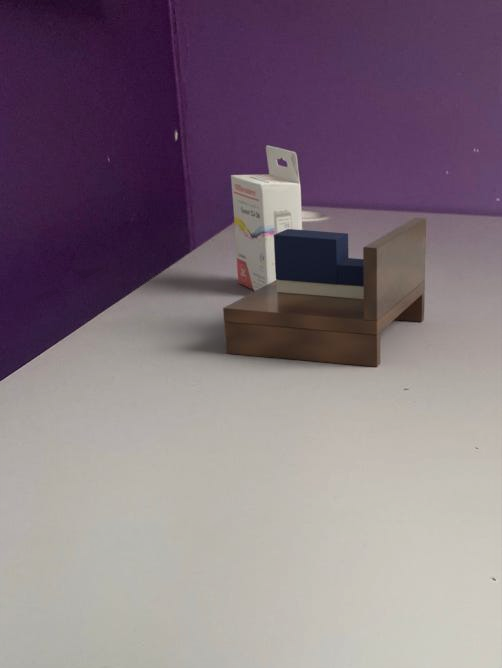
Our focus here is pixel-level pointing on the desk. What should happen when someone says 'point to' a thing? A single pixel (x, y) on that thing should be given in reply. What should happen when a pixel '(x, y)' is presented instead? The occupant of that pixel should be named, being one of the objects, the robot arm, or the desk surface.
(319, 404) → the desk surface
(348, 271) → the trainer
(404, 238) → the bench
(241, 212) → the ink cartridge box
